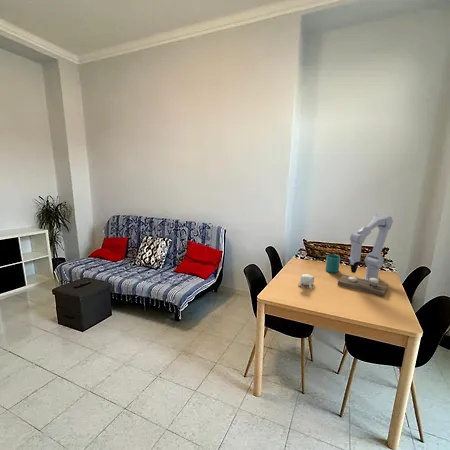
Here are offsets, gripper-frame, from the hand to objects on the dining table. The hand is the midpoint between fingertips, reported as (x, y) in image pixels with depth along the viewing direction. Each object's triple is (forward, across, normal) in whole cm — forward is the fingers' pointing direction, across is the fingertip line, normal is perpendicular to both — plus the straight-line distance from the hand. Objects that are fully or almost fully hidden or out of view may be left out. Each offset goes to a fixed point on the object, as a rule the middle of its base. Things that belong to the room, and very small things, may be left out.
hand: (353, 272), depth 172 cm
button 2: (+6, 0, +12) cm, 13 cm away
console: (+8, 0, +6) cm, 10 cm away
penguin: (+9, +21, -22) cm, 32 cm away
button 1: (+8, 0, 0) cm, 8 cm away
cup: (+9, -18, -18) cm, 27 cm away
